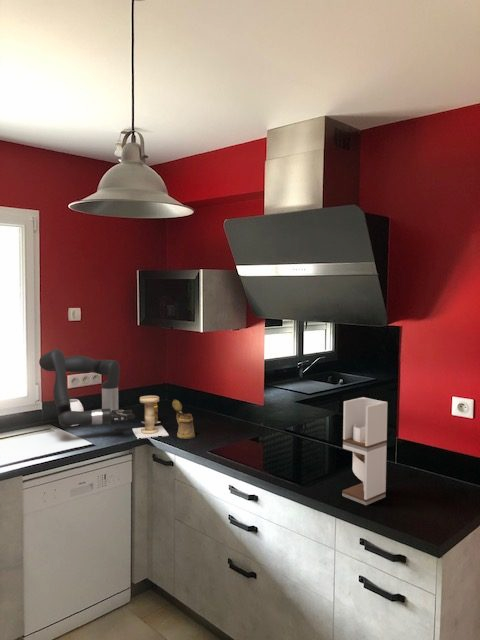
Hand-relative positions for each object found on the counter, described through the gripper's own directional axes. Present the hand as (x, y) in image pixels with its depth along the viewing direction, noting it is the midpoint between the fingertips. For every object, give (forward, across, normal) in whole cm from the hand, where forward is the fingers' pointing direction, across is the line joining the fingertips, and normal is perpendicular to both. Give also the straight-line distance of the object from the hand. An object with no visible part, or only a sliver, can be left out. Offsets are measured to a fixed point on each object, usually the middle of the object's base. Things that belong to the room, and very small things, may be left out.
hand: (133, 414), depth 269 cm
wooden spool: (+8, 0, +10) cm, 13 cm away
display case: (+67, -108, +11) cm, 128 cm away
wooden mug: (+23, -11, +11) cm, 28 cm away
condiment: (+12, +20, +11) cm, 26 cm away
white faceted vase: (-30, +29, +11) cm, 43 cm away
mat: (+8, 0, +10) cm, 14 cm away
